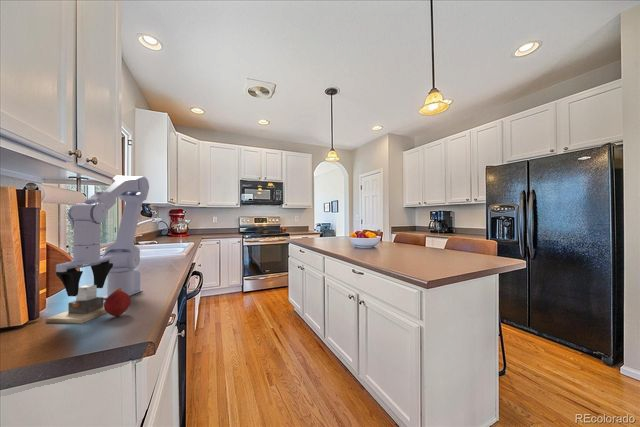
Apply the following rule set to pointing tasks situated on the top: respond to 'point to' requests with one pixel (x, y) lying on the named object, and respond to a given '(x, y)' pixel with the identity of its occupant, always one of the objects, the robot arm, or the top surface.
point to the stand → (80, 312)
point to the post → (86, 293)
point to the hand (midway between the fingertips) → (86, 291)
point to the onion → (117, 303)
